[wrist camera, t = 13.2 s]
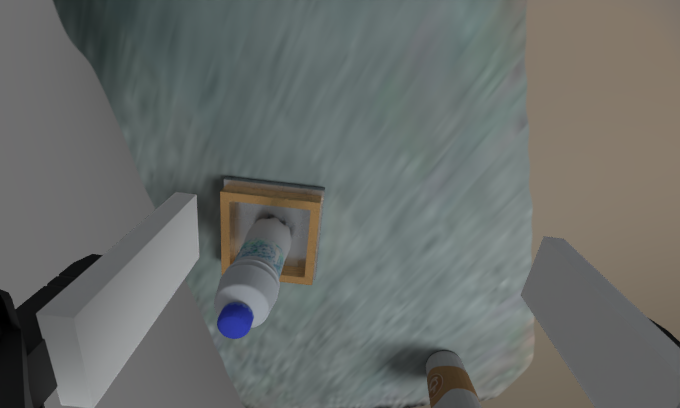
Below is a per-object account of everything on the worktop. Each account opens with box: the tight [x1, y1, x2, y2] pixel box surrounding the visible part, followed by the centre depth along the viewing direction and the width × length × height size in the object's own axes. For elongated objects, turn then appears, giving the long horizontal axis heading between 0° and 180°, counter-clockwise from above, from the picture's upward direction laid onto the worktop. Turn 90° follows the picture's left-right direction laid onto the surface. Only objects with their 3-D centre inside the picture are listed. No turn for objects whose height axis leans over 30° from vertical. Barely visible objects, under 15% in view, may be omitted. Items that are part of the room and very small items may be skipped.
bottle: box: [214, 218, 291, 339], centre depth 45 cm, size 7×7×20 cm
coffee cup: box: [426, 351, 482, 408], centre depth 58 cm, size 8×8×15 cm
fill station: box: [220, 176, 325, 285], centre depth 54 cm, size 15×14×4 cm
